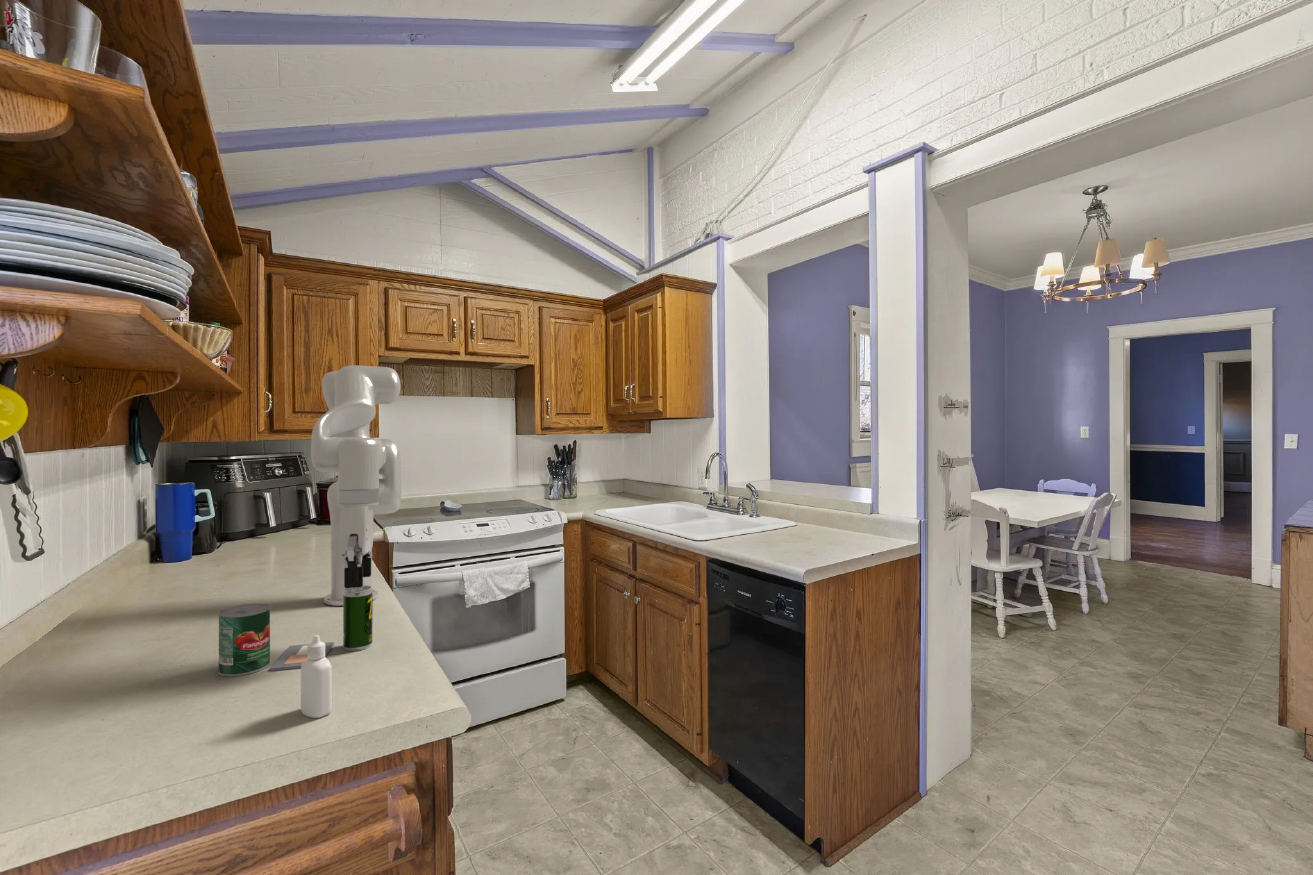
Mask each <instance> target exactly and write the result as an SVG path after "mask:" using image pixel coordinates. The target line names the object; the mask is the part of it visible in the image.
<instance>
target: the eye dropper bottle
mask: <svg viewBox="0 0 1313 875" xmlns="http://www.w3.org/2000/svg"><path fill="white" fill-rule="evenodd" d="M325 643H326V642H323V641H321V638H320V635H319V634H315V635H314V636H313V639H312V642H311V643H308V644H309V645H308V646H307V659H306V660H304V661H303V663H302V665H301V668H300V711H301V713H302V715H303V716H305V717H308V718H312V719H319V718H322V717H326V716H327V715H330V714H331V713H332V710H333V709H332V708H333V707H332V706H333V704H332V701H333V700H332V699H333V698H332V696H333V692H332V691H333V689H332V688H333V687H332V686H333V685H332V683H333V678H332V677H333V676H332V675H333V674H332V673H333V672H332V664H331V662H330V660H329V659H328V658H327V656H326V657H324V656H325Z"/></svg>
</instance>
